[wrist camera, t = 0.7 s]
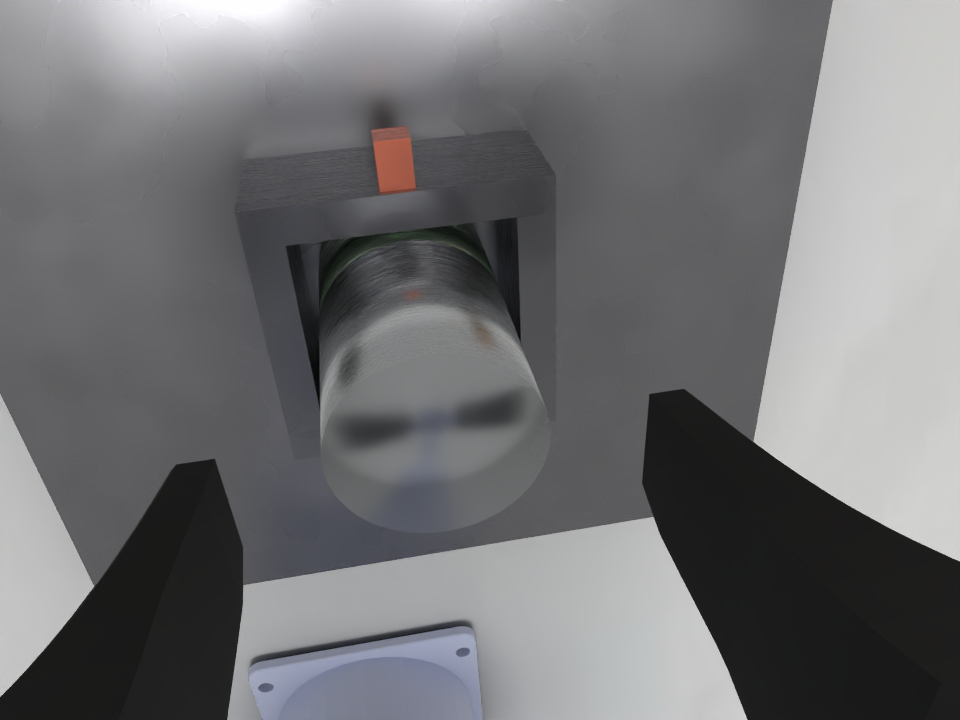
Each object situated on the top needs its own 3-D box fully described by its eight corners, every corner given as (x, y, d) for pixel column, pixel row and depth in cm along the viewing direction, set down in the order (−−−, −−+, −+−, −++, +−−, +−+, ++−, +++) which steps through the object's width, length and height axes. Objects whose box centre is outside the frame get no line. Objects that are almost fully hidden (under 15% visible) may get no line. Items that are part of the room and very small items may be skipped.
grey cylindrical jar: (490, 333, 21) (551, 514, 15) (332, 355, 20) (340, 548, 15) (482, 185, 18) (550, 338, 13) (304, 206, 18) (301, 372, 13)
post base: (727, 477, 27) (782, 567, 24) (112, 576, 25) (83, 691, 22) (848, -274, 16) (984, -295, 13) (-252, -210, 14) (-424, -213, 11)
